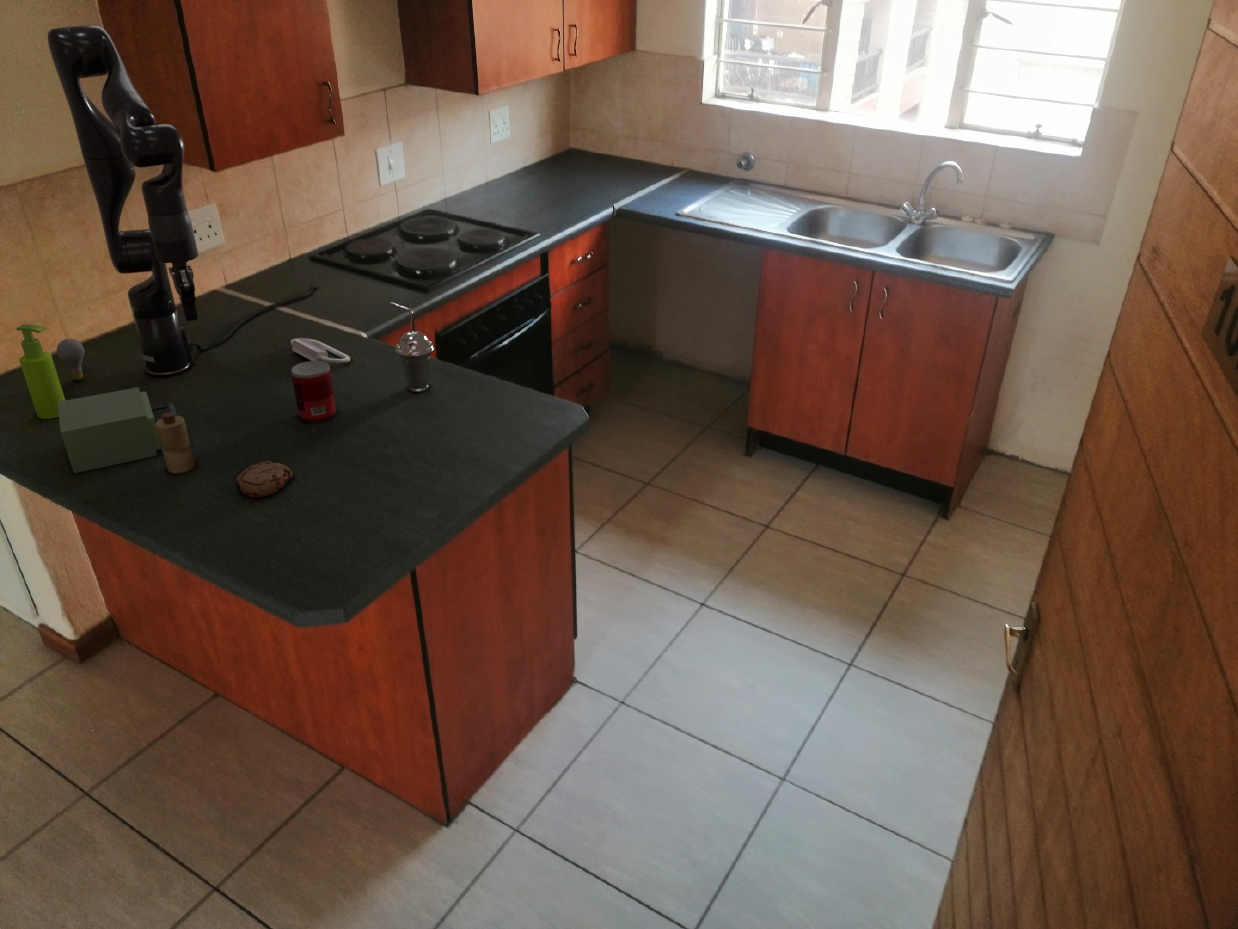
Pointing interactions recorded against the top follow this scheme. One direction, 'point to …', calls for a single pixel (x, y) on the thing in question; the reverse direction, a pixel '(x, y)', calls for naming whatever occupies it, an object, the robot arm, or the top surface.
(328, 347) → the white long looped piece
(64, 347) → the light bulb
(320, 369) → the canned food
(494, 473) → the top surface
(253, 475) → the cookie
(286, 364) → the top surface
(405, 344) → the cup with straw
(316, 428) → the top surface
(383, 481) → the top surface
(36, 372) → the soap dispenser
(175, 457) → the roller
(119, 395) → the cabinet
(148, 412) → the drawer
